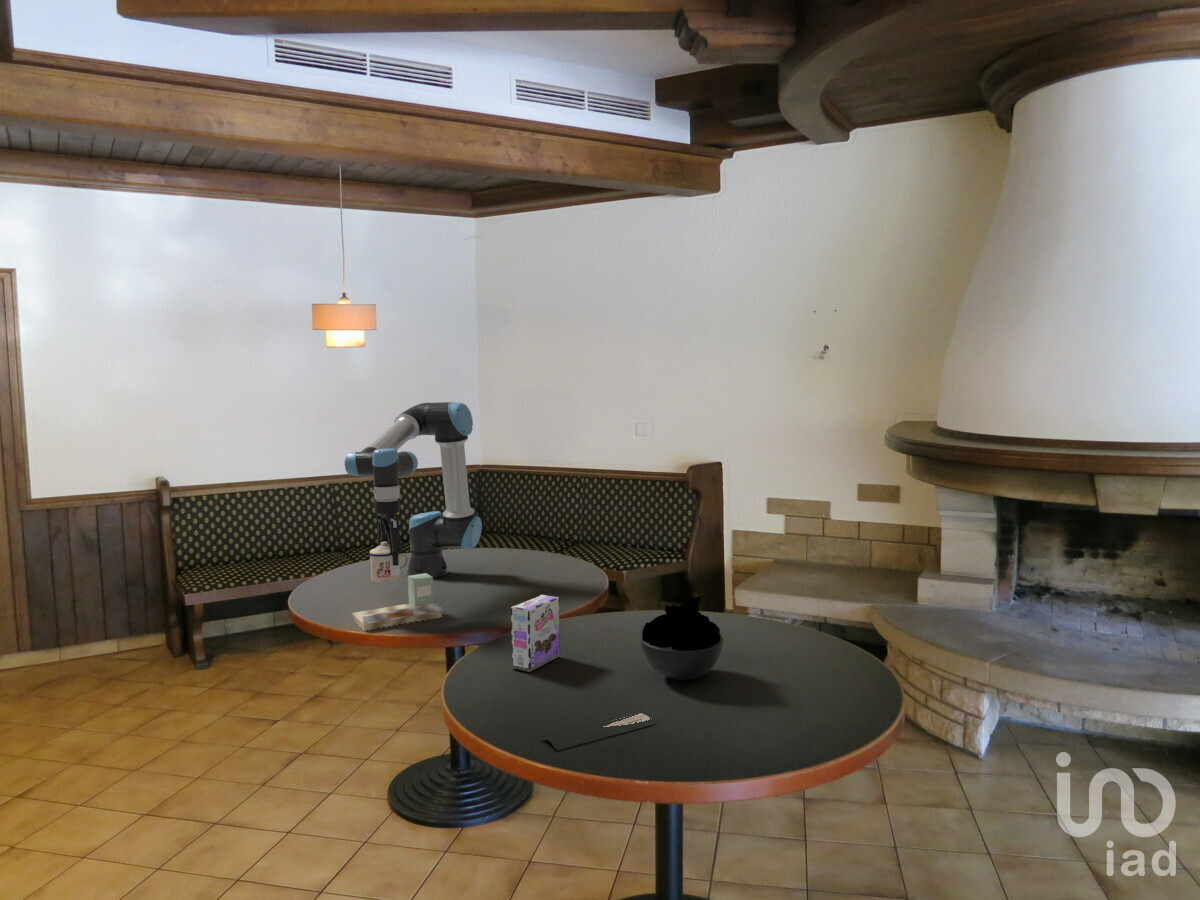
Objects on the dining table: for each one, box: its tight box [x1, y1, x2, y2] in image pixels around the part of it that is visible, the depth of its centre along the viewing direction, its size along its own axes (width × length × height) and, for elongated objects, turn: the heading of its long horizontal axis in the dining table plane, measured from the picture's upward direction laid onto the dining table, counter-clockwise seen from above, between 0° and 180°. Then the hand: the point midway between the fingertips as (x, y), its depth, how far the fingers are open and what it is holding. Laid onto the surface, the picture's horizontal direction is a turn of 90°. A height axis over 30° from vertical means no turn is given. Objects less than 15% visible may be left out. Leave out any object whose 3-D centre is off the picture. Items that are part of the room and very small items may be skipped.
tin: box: [407, 573, 435, 608], centre depth 263 cm, size 6×6×10 cm
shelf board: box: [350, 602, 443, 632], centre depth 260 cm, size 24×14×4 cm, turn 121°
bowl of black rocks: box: [640, 596, 724, 681], centre depth 205 cm, size 20×20×19 cm
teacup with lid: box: [368, 542, 410, 584], centre depth 259 cm, size 12×9×12 cm
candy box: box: [510, 594, 561, 669], centre depth 217 cm, size 14×6×16 cm, turn 148°
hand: (390, 572), depth 259 cm, fingers closed on teacup with lid, 9 cm apart
